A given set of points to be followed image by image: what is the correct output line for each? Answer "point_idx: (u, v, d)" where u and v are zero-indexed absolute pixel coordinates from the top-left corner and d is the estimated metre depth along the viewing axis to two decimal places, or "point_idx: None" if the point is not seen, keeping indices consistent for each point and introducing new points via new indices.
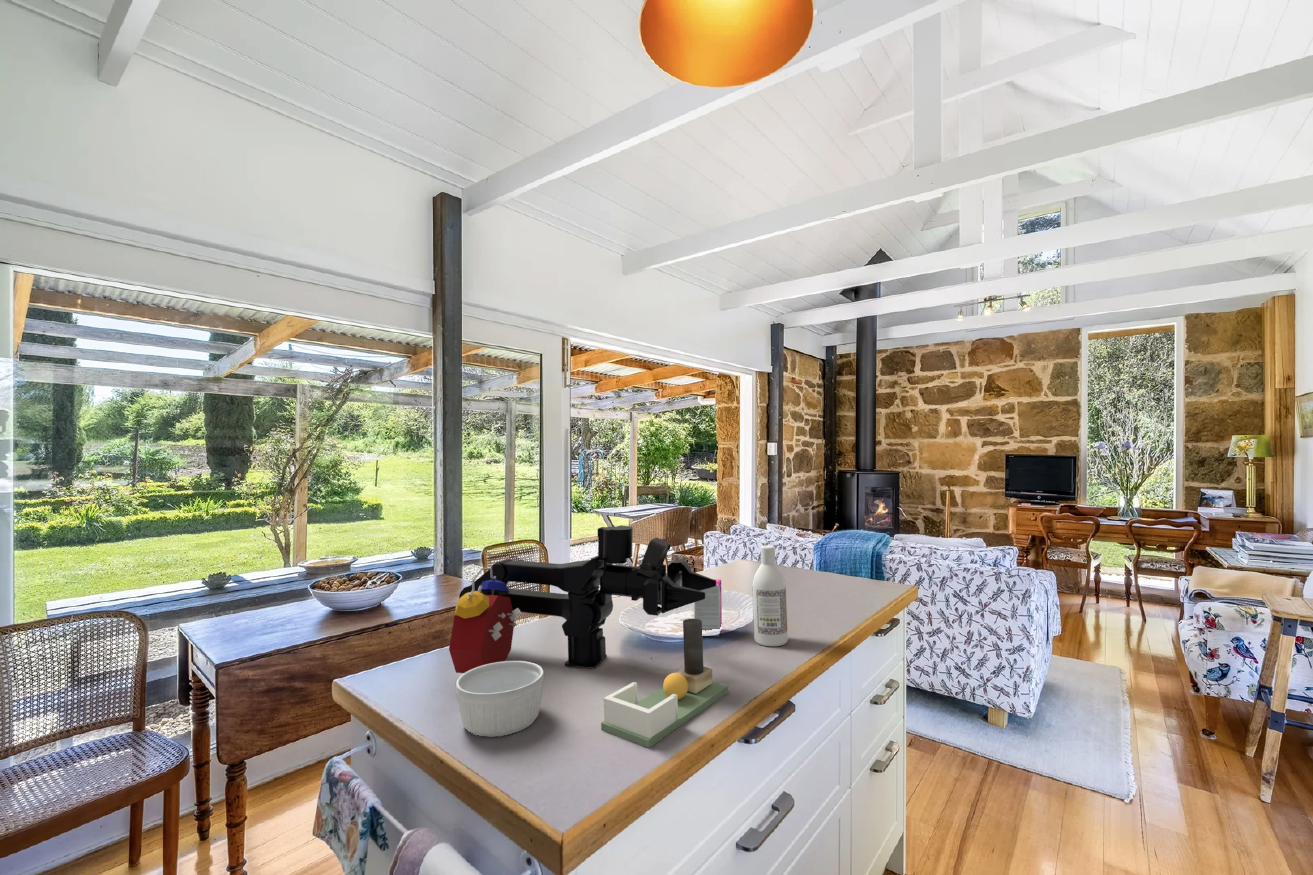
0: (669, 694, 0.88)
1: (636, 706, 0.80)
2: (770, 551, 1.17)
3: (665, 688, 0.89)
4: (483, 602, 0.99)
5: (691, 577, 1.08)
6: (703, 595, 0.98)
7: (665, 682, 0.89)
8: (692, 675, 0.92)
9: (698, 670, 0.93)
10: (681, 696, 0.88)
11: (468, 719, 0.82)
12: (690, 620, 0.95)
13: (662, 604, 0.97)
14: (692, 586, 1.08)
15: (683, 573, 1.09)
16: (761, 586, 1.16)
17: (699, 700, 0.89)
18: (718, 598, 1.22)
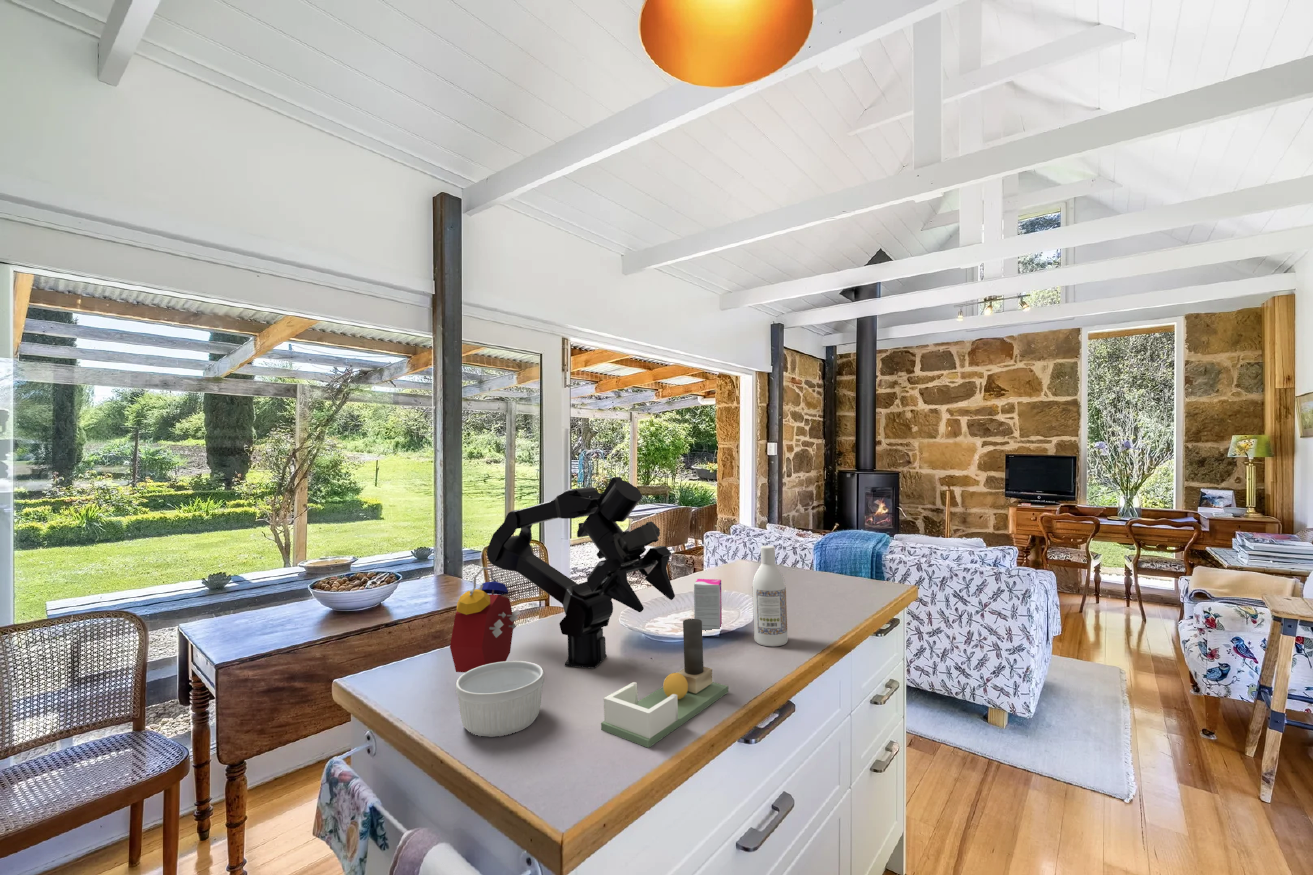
0: (669, 694, 0.88)
1: (636, 706, 0.80)
2: (770, 551, 1.17)
3: (665, 688, 0.89)
4: (484, 598, 1.01)
5: (660, 574, 1.05)
6: (640, 609, 0.95)
7: (665, 682, 0.89)
8: (692, 675, 0.92)
9: (698, 670, 0.93)
10: (681, 696, 0.88)
11: (468, 719, 0.82)
12: (690, 620, 0.95)
13: (602, 588, 0.96)
14: (655, 582, 1.06)
15: (657, 565, 1.06)
16: (761, 586, 1.16)
17: (699, 700, 0.89)
18: (718, 598, 1.22)
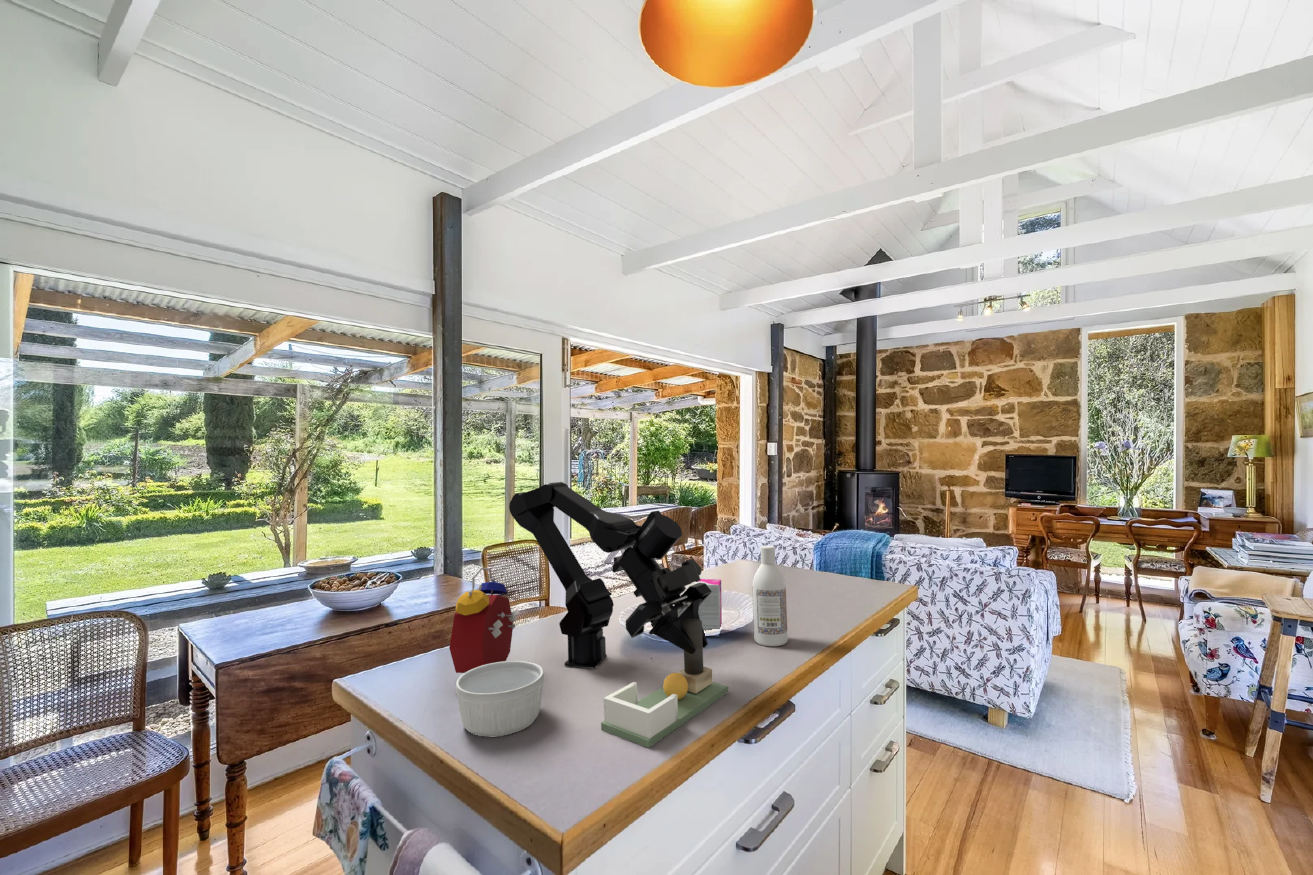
0: (669, 694, 0.88)
1: (636, 706, 0.80)
2: (770, 551, 1.17)
3: (665, 688, 0.89)
4: (483, 599, 1.01)
5: None
6: (692, 651, 0.92)
7: (665, 682, 0.89)
8: (692, 675, 0.92)
9: (698, 670, 0.93)
10: (681, 696, 0.88)
11: (468, 719, 0.82)
12: (690, 620, 0.95)
13: (653, 628, 0.93)
14: None
15: (688, 609, 0.98)
16: (761, 586, 1.16)
17: (699, 700, 0.89)
18: (718, 598, 1.22)
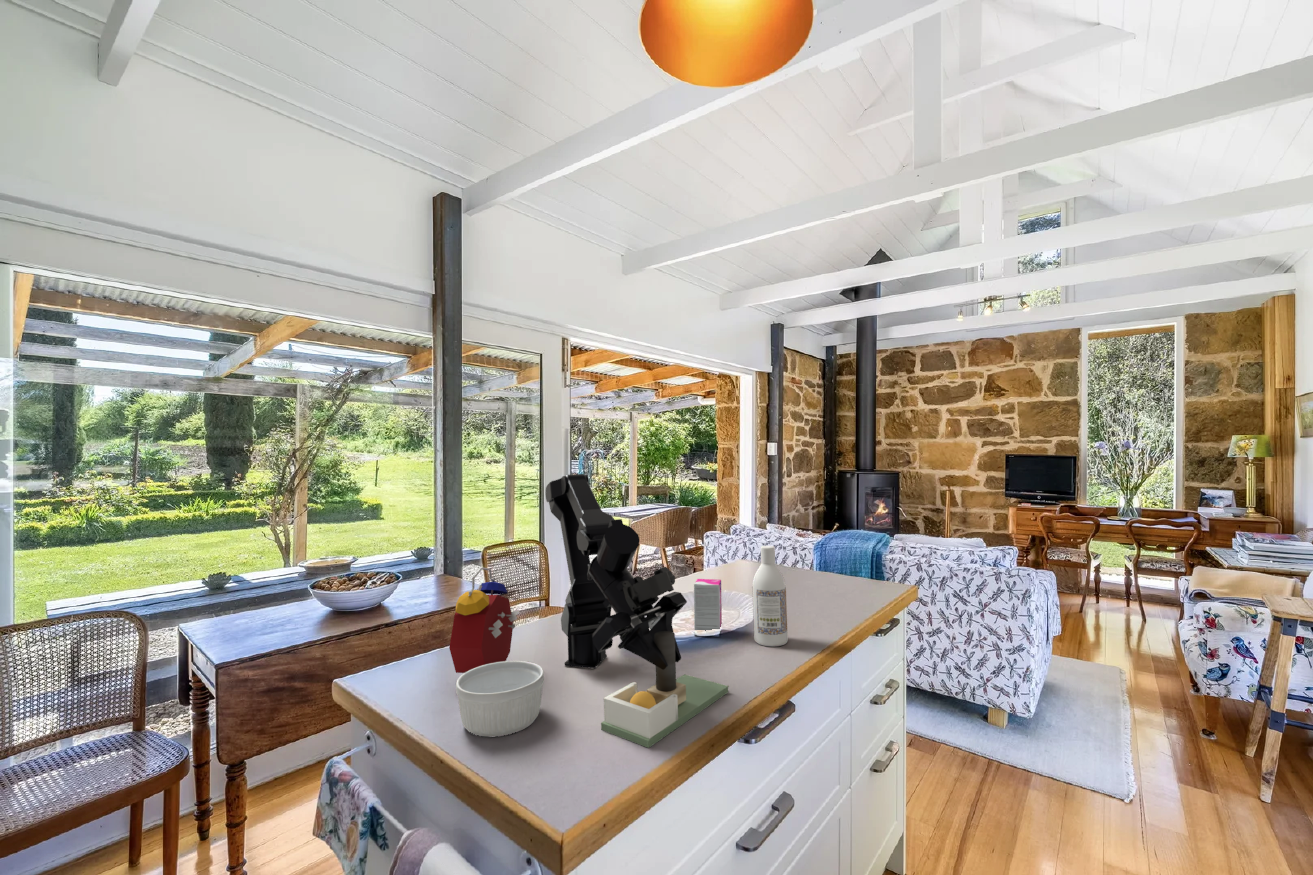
0: (644, 691, 0.84)
1: (636, 706, 0.80)
2: (770, 551, 1.17)
3: None
4: (483, 599, 1.01)
5: None
6: (664, 666, 0.86)
7: None
8: (664, 692, 0.86)
9: (670, 687, 0.87)
10: (648, 702, 0.82)
11: (468, 719, 0.82)
12: (662, 633, 0.89)
13: (622, 641, 0.87)
14: None
15: (660, 620, 0.92)
16: (761, 586, 1.16)
17: (699, 700, 0.89)
18: (718, 598, 1.22)
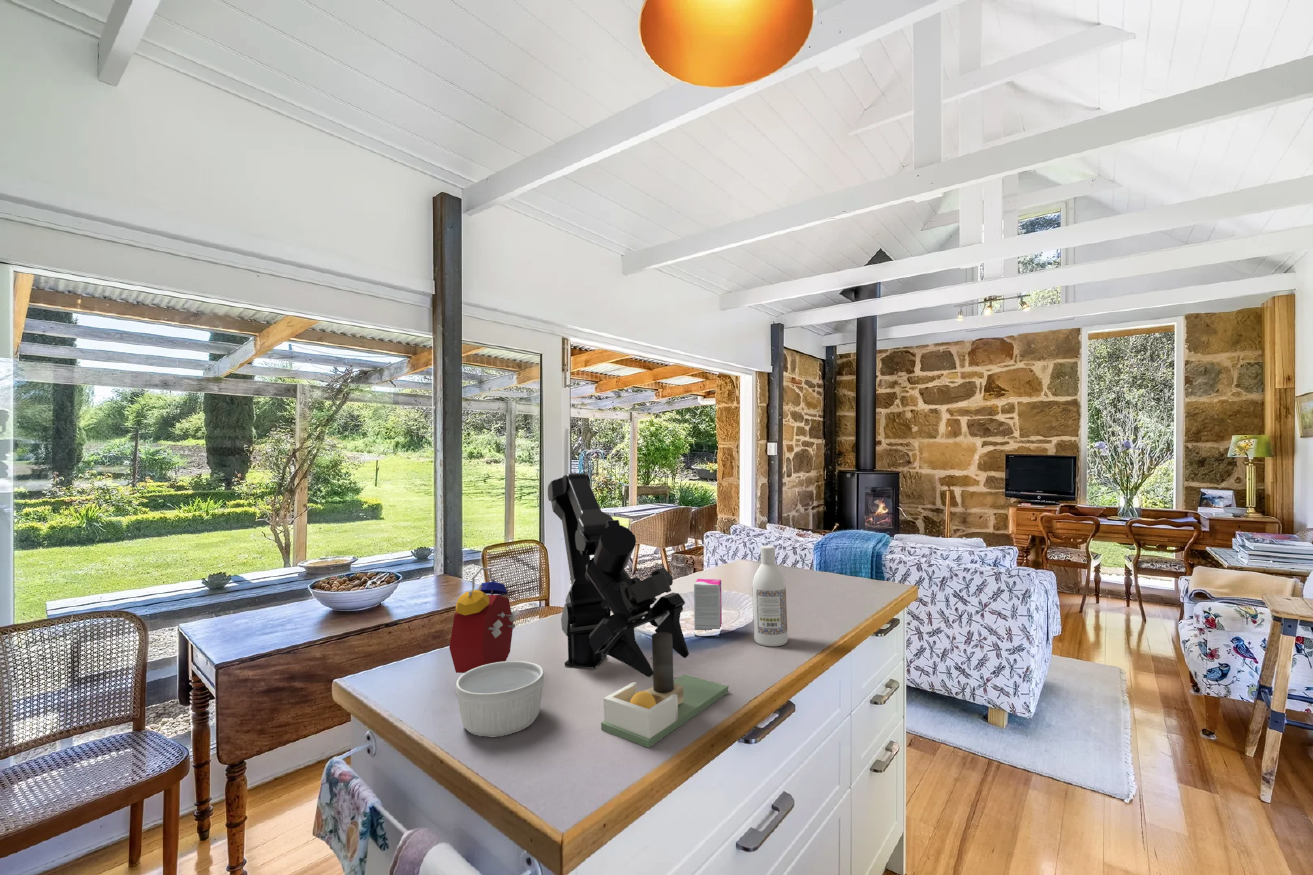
0: (645, 691, 0.84)
1: (636, 706, 0.80)
2: (770, 551, 1.17)
3: None
4: (483, 599, 1.01)
5: (672, 627, 0.92)
6: (649, 674, 0.83)
7: None
8: (661, 694, 0.86)
9: (668, 688, 0.86)
10: (648, 702, 0.82)
11: (468, 719, 0.82)
12: (660, 634, 0.88)
13: (606, 648, 0.84)
14: None
15: (668, 617, 0.93)
16: (761, 586, 1.16)
17: (699, 700, 0.89)
18: (718, 598, 1.22)
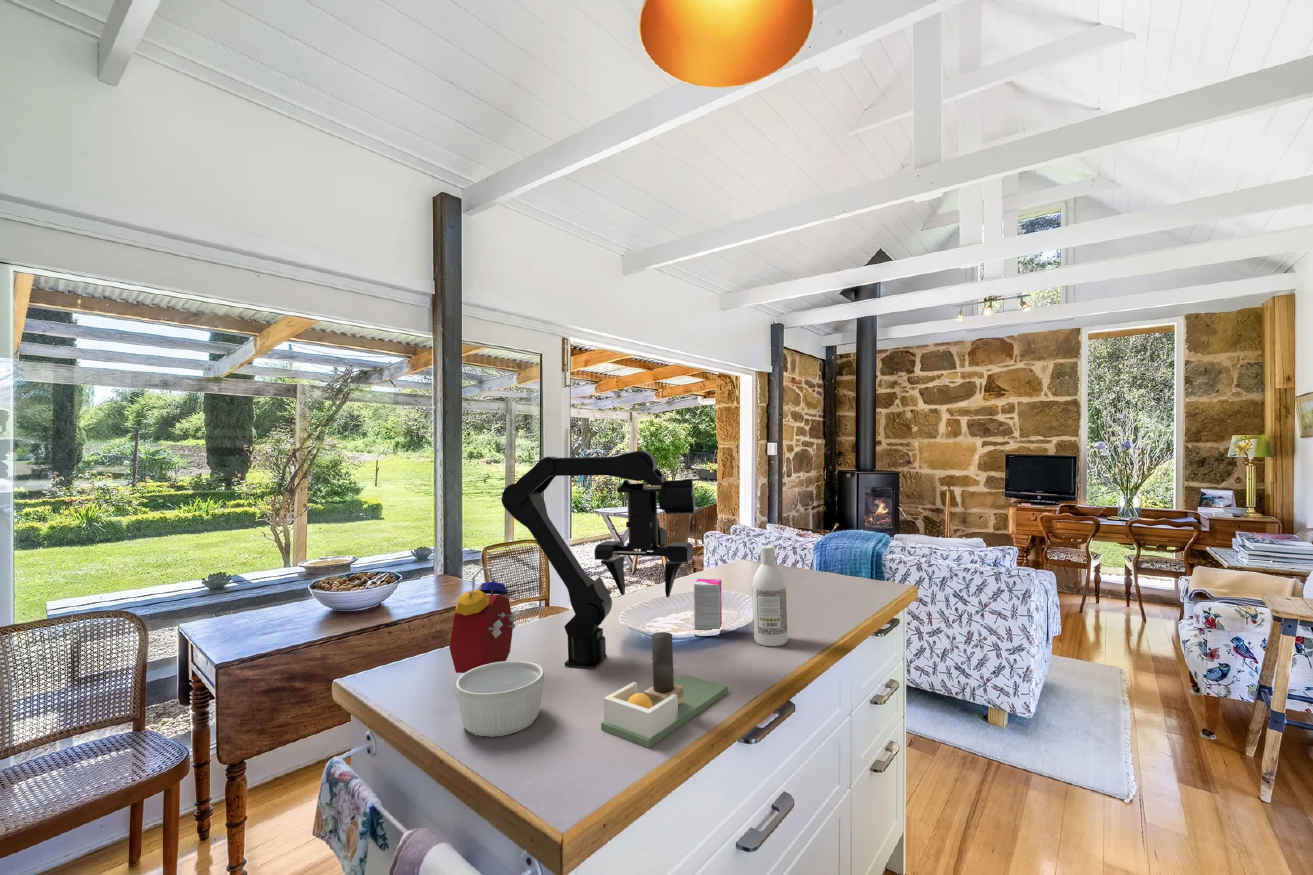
0: (638, 695, 0.82)
1: (636, 706, 0.80)
2: (770, 551, 1.17)
3: (637, 693, 0.84)
4: (483, 599, 1.01)
5: (622, 568, 1.11)
6: (669, 595, 1.07)
7: None
8: (661, 694, 0.86)
9: (668, 688, 0.86)
10: None
11: (468, 719, 0.82)
12: (660, 634, 0.88)
13: (682, 562, 1.05)
14: (619, 571, 1.09)
15: (621, 559, 1.11)
16: (761, 586, 1.16)
17: (699, 700, 0.89)
18: (718, 598, 1.22)
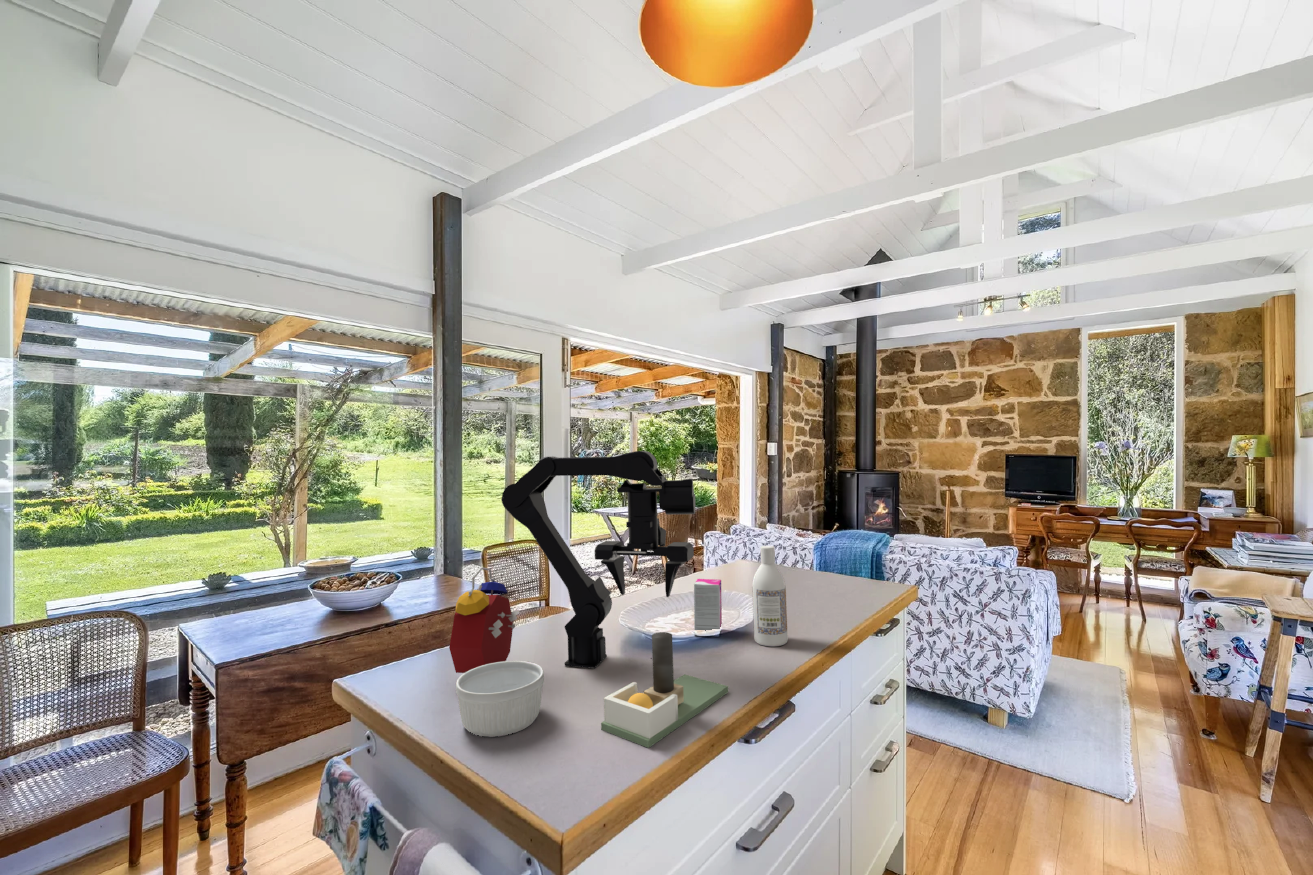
0: (639, 694, 0.83)
1: (636, 706, 0.80)
2: (770, 551, 1.17)
3: (638, 693, 0.84)
4: (483, 599, 1.01)
5: (622, 568, 1.11)
6: (669, 595, 1.07)
7: None
8: (661, 694, 0.86)
9: (668, 688, 0.86)
10: (643, 706, 0.81)
11: (468, 719, 0.82)
12: (660, 634, 0.88)
13: (682, 562, 1.05)
14: (619, 571, 1.09)
15: (621, 559, 1.11)
16: (761, 586, 1.16)
17: (699, 700, 0.89)
18: (718, 598, 1.22)
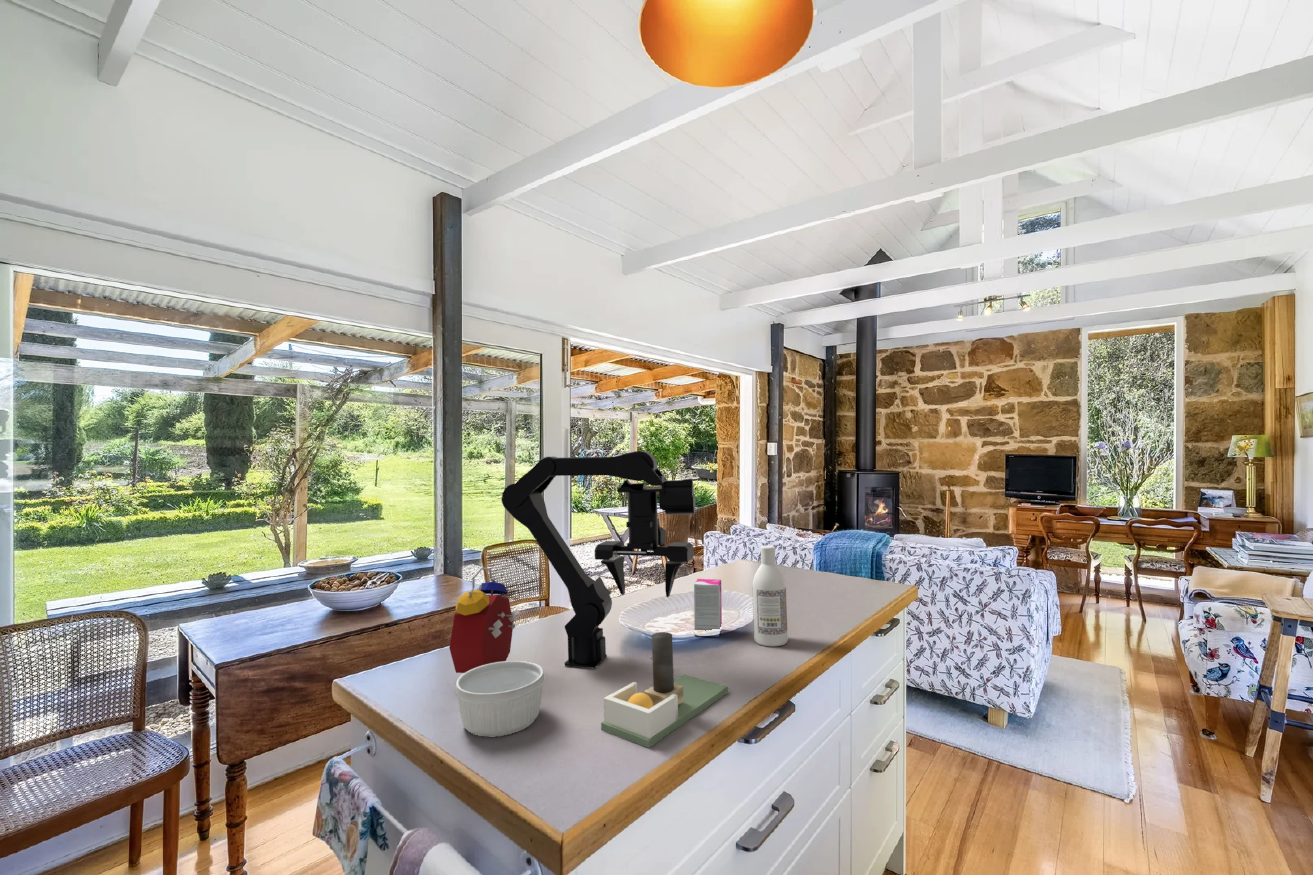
0: (639, 694, 0.83)
1: (636, 706, 0.80)
2: (770, 551, 1.17)
3: None
4: (483, 599, 1.01)
5: (622, 568, 1.11)
6: (669, 595, 1.07)
7: None
8: (661, 694, 0.86)
9: (668, 688, 0.86)
10: (644, 706, 0.81)
11: (468, 719, 0.82)
12: (660, 634, 0.88)
13: (682, 562, 1.05)
14: (619, 571, 1.09)
15: (621, 559, 1.11)
16: (761, 586, 1.16)
17: (699, 700, 0.89)
18: (718, 598, 1.22)
